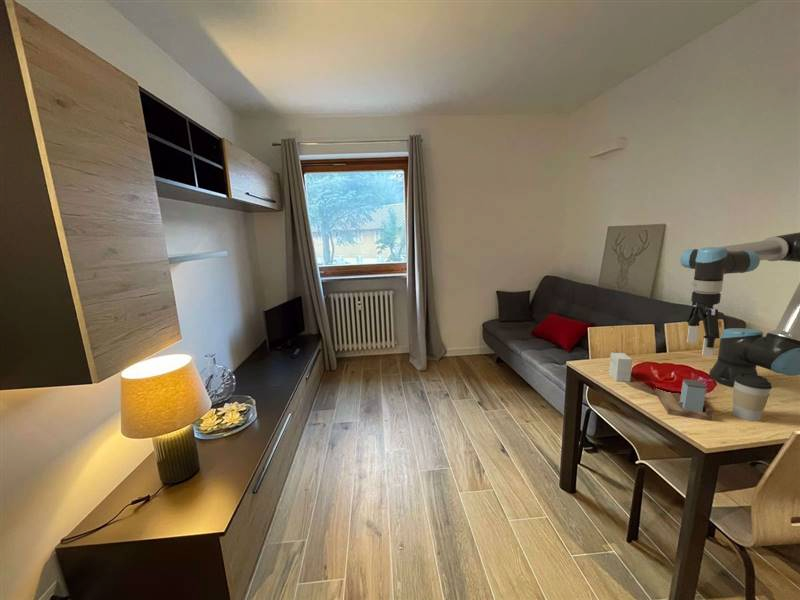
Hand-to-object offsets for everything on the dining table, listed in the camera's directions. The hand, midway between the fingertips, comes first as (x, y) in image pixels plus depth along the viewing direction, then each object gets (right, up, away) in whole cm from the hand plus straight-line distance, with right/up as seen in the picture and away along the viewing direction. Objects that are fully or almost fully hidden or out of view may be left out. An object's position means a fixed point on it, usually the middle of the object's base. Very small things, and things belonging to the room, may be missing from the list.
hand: (699, 348), depth 121 cm
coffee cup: (+12, -23, -5) cm, 26 cm away
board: (-4, -22, +4) cm, 22 cm away
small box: (-11, -17, +27) cm, 34 cm away
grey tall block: (-5, -21, -2) cm, 22 cm away
